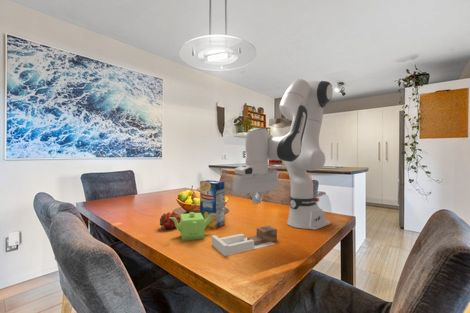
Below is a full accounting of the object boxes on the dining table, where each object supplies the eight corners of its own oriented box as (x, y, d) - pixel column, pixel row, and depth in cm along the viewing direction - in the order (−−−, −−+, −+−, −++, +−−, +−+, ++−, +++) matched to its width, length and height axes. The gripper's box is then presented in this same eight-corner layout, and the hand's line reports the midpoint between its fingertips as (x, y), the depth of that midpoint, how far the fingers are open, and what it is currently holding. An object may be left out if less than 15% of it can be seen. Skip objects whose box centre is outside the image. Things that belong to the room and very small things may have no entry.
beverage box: (216, 228, 114) (216, 183, 114) (199, 224, 121) (199, 181, 120) (224, 224, 120) (224, 181, 119) (209, 220, 126) (208, 180, 126)
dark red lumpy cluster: (157, 234, 110) (178, 231, 119) (167, 226, 106) (188, 224, 116) (153, 217, 114) (173, 215, 123) (162, 209, 110) (183, 208, 119)
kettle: (195, 248, 91) (194, 219, 91) (167, 242, 97) (166, 215, 97) (215, 235, 104) (215, 210, 104) (189, 230, 111) (189, 207, 110)
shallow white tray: (259, 238, 101) (259, 226, 101) (275, 247, 91) (275, 235, 91) (211, 248, 90) (211, 235, 90) (224, 260, 81) (224, 246, 81)
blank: (269, 236, 99) (269, 225, 99) (276, 240, 95) (276, 229, 95) (247, 241, 94) (247, 230, 94) (254, 245, 90) (254, 233, 90)
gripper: (272, 167, 101) (272, 199, 101) (230, 169, 91) (230, 204, 91) (282, 168, 95) (282, 201, 96) (239, 170, 85) (239, 208, 86)
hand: (256, 203), depth 93 cm, fingers closed
